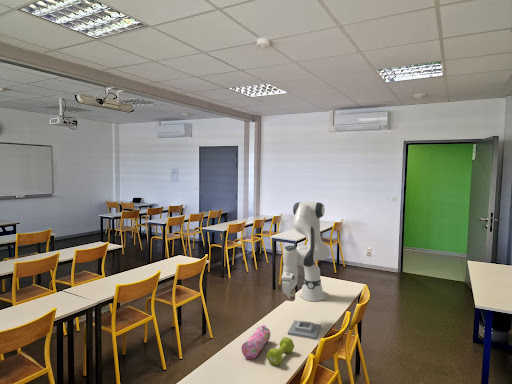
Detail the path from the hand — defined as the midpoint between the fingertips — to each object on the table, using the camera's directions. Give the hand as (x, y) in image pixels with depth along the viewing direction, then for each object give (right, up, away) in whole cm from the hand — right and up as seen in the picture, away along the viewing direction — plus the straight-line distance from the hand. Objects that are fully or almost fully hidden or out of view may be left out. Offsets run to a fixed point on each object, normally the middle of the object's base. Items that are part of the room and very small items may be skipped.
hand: (290, 296), depth 195 cm
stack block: (0, -2, 0) cm, 2 cm away
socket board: (+7, -18, -6) cm, 20 cm away
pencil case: (-20, -20, -26) cm, 38 cm away
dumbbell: (-8, -20, -34) cm, 40 cm away
